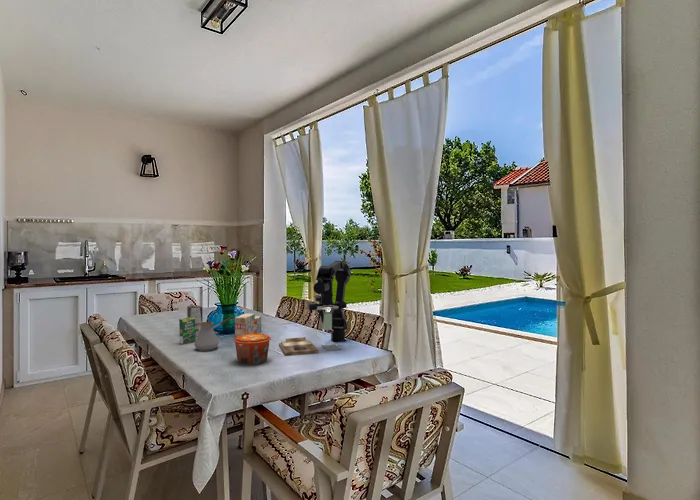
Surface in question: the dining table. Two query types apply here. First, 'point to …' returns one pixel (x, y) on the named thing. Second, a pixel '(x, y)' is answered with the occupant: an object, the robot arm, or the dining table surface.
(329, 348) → the rubber mat
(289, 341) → the sliding lid
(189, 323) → the coffee box
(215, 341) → the coffee pot
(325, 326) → the sage block
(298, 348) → the well board
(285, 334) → the dining table surface
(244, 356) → the food container
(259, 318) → the stack of blocks
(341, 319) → the robot arm
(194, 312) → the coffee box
